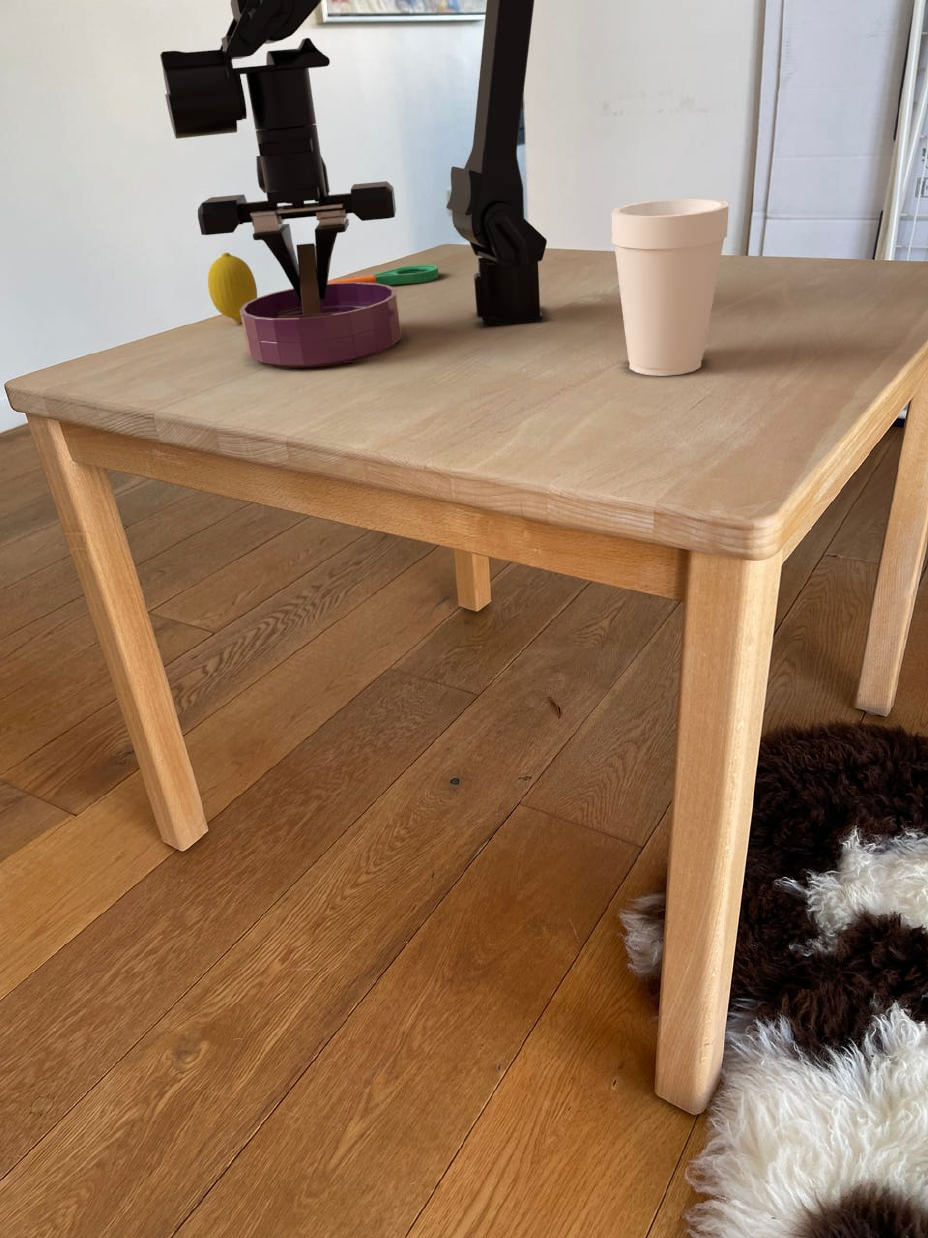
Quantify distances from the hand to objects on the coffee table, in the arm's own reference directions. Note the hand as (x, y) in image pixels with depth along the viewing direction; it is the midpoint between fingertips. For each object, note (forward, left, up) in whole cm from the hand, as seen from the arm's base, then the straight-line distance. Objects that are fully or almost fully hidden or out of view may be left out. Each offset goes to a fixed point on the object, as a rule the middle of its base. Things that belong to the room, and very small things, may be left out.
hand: (313, 299), depth 95 cm
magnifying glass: (-6, -31, -5) cm, 31 cm away
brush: (0, +2, -4) cm, 4 cm away
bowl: (-1, 0, -5) cm, 5 cm away
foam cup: (-33, +17, -5) cm, 37 cm away
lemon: (+11, -16, -5) cm, 20 cm away
